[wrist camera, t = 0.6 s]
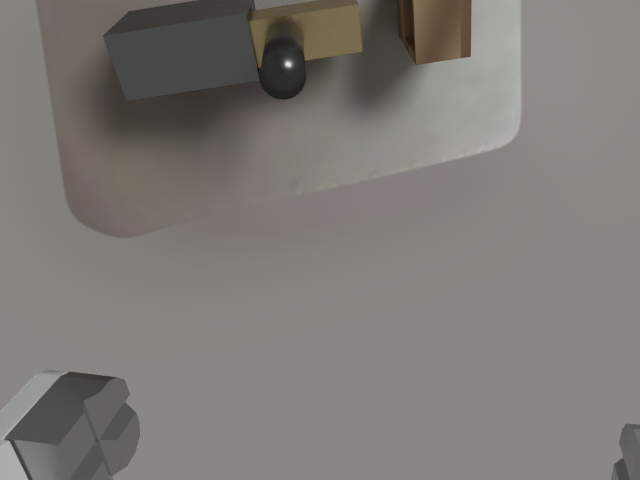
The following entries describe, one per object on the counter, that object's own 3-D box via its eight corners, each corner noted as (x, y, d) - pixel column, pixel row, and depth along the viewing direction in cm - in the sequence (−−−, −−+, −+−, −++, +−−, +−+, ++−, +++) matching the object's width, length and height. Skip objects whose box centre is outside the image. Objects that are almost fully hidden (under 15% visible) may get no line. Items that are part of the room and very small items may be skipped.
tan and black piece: (146, 72, 48) (106, 130, 38) (133, 29, 46) (86, 79, 36) (358, 39, 47) (376, 90, 37) (353, -6, 45) (371, 34, 35)
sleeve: (147, 69, 52) (126, 101, 45) (129, 11, 49) (102, 35, 42) (264, 51, 51) (259, 80, 45) (252, -9, 48) (245, 13, 42)
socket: (399, 36, 51) (416, 64, 44) (395, -38, 48) (412, -20, 41) (446, 29, 51) (470, 56, 44) (445, -46, 47) (471, -30, 40)
